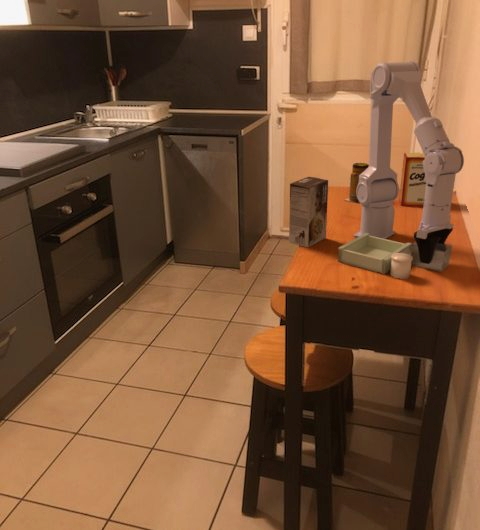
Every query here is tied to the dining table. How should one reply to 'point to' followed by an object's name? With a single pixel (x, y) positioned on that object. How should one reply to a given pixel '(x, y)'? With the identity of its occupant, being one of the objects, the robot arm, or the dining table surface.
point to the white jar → (401, 265)
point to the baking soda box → (412, 180)
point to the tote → (371, 252)
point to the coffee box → (308, 211)
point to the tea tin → (433, 257)
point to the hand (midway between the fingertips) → (429, 259)
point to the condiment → (355, 180)
